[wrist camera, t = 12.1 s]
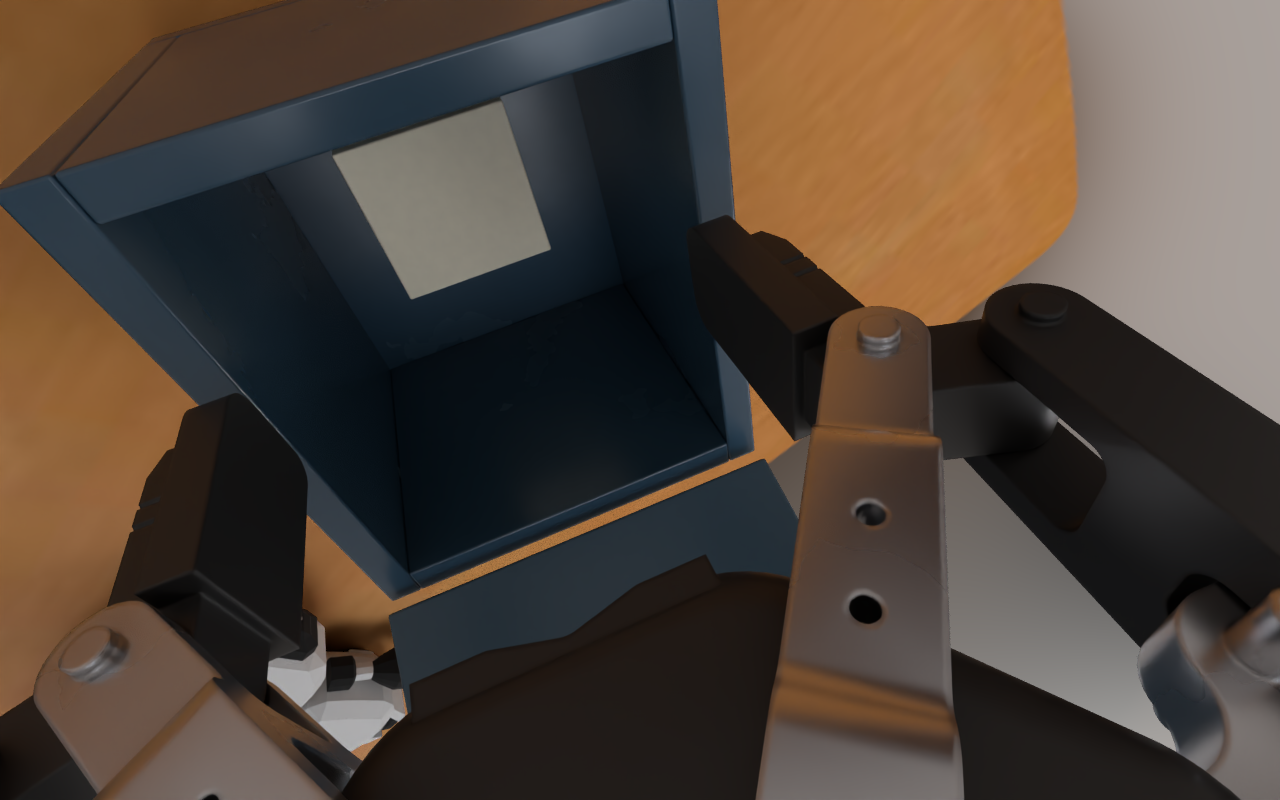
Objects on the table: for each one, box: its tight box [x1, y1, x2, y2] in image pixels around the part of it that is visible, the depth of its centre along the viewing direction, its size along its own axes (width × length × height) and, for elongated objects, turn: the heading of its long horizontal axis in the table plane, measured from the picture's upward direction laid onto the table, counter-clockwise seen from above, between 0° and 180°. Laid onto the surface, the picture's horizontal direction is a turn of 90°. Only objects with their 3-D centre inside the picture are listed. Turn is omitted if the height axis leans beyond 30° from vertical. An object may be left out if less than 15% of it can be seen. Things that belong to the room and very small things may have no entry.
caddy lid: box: [389, 459, 798, 714], centre depth 14 cm, size 12×11×1 cm
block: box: [332, 97, 551, 299], centre depth 17 cm, size 4×4×4 cm
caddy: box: [0, 0, 754, 601], centre depth 16 cm, size 12×11×10 cm
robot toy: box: [267, 609, 405, 751], centre depth 29 cm, size 12×4×15 cm
